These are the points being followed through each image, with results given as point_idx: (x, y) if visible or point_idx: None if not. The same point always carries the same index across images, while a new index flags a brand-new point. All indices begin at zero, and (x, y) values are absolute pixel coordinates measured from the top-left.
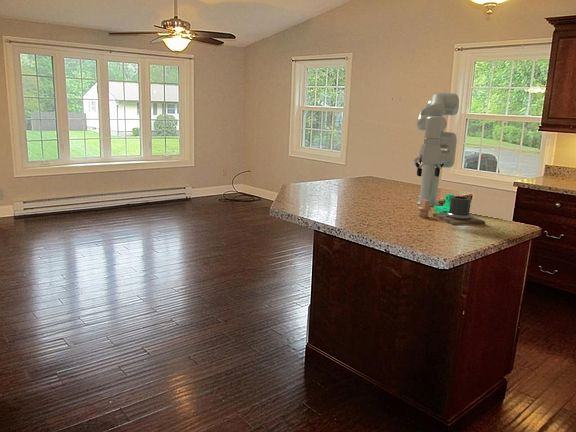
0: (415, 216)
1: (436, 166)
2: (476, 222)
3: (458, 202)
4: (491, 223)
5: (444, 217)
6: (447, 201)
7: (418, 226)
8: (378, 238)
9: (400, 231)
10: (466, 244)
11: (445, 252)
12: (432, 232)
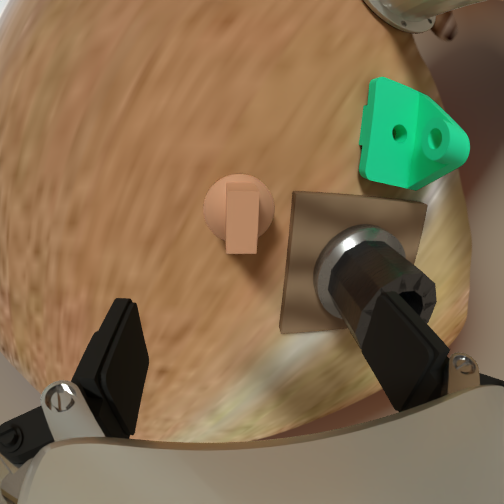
0: (199, 187)
1: (445, 388)
2: None
3: (354, 338)
4: None
5: (297, 272)
6: (423, 145)
7: None
8: (39, 388)
9: None
10: (201, 439)
11: None
12: (162, 385)
